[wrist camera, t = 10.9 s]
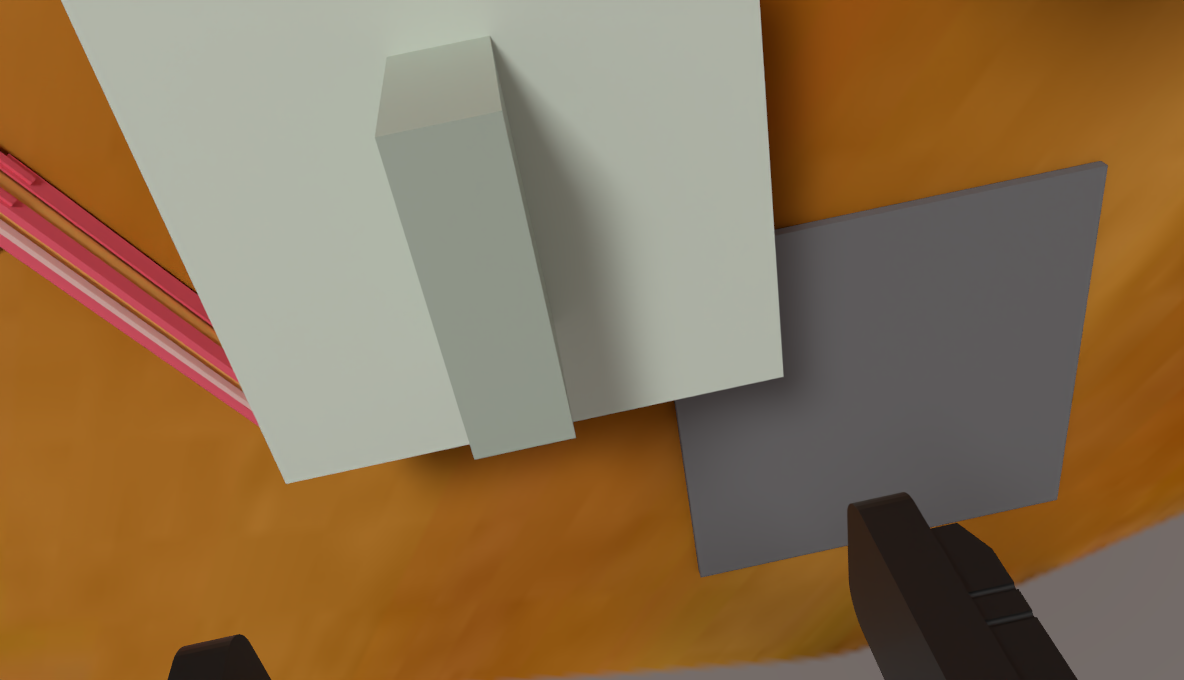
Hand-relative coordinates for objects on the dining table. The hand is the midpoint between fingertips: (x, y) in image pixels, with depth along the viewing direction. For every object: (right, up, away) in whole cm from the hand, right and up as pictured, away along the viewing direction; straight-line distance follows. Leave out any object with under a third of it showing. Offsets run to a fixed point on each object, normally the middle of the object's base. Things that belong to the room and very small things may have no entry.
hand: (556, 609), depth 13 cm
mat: (+12, +2, +25) cm, 28 cm away
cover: (-3, +8, +12) cm, 15 cm away
